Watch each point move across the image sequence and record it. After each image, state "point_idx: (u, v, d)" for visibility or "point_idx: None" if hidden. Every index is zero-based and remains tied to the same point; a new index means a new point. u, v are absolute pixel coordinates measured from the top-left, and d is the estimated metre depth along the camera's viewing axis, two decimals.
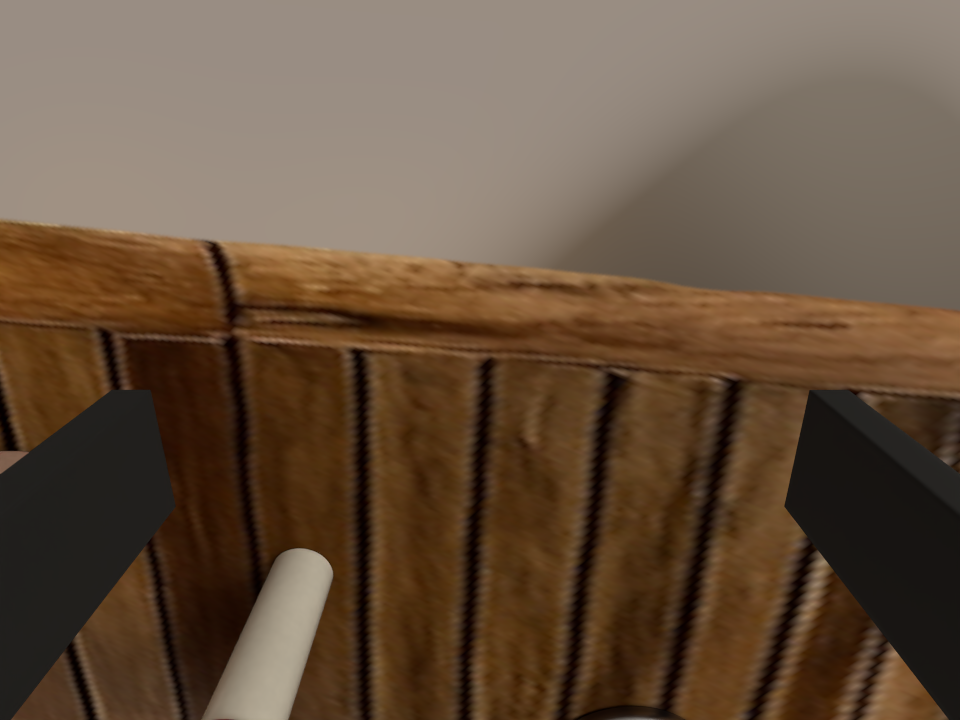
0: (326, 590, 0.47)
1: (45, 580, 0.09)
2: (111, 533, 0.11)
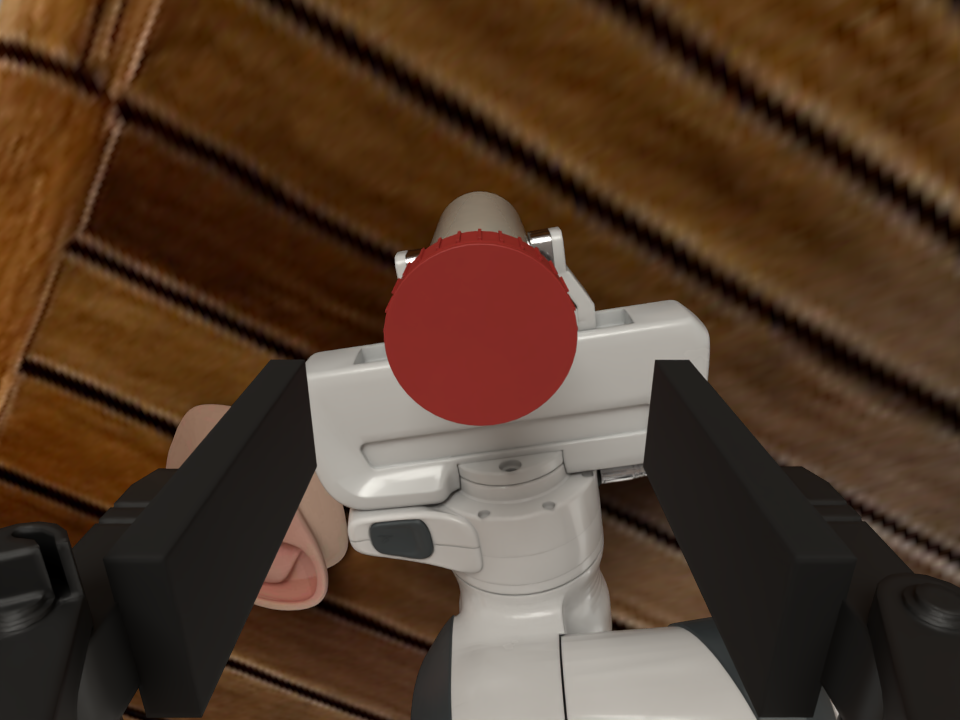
0: (498, 200, 0.32)
1: (257, 515, 0.11)
2: (286, 482, 0.12)
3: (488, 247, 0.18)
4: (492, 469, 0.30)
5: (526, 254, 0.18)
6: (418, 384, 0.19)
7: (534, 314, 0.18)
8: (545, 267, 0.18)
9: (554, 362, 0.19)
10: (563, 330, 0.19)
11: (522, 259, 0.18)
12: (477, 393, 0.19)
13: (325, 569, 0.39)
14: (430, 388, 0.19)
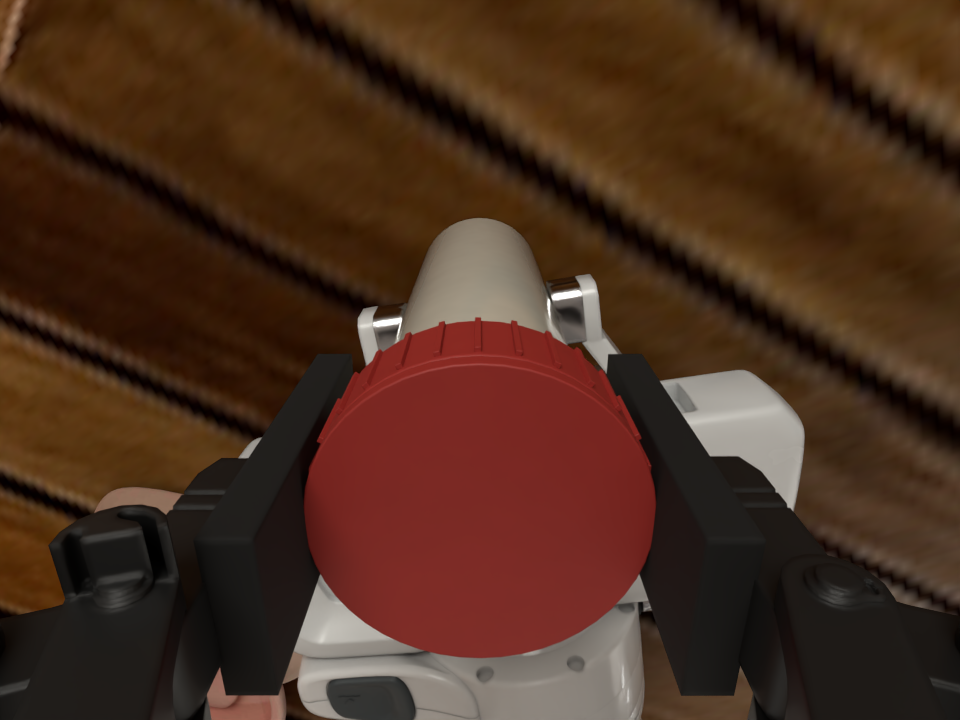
0: (504, 232, 0.23)
1: None
2: None
3: (494, 370, 0.09)
4: None
5: (566, 381, 0.09)
6: (369, 596, 0.11)
7: (579, 484, 0.10)
8: (602, 404, 0.09)
9: (612, 562, 0.10)
10: (631, 511, 0.10)
11: (559, 391, 0.09)
12: (474, 610, 0.11)
13: (282, 696, 0.30)
14: (390, 602, 0.11)
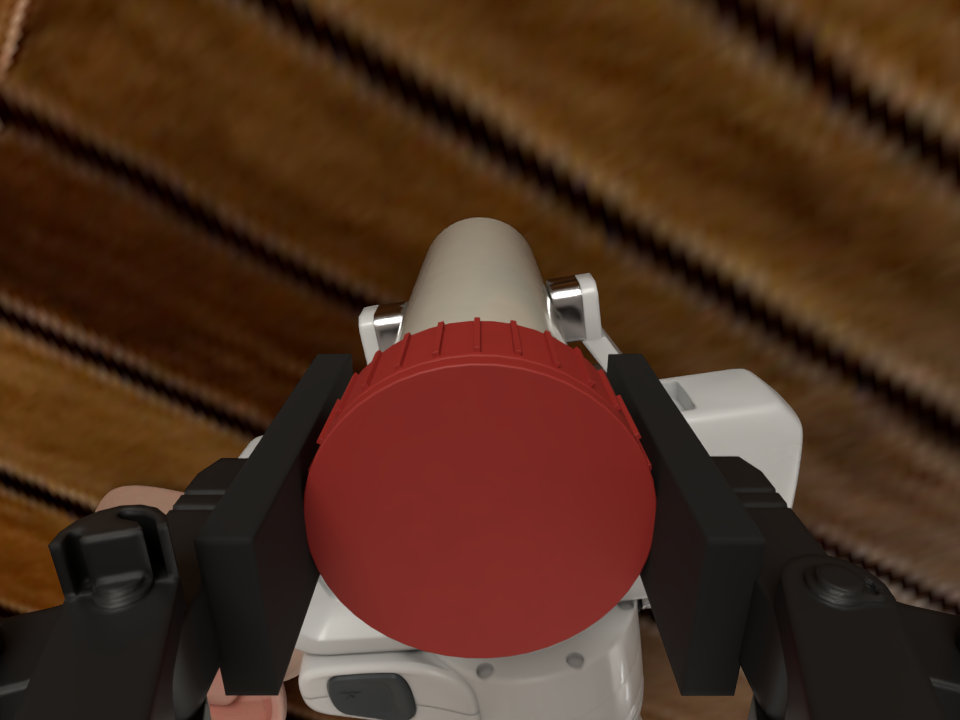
0: (504, 231, 0.23)
1: None
2: None
3: (327, 447, 0.10)
4: None
5: (369, 395, 0.09)
6: (502, 637, 0.11)
7: (481, 431, 0.10)
8: (406, 376, 0.09)
9: (588, 438, 0.10)
10: (537, 398, 0.09)
11: (372, 407, 0.09)
12: (568, 571, 0.11)
13: (283, 693, 0.30)
14: (518, 625, 0.11)
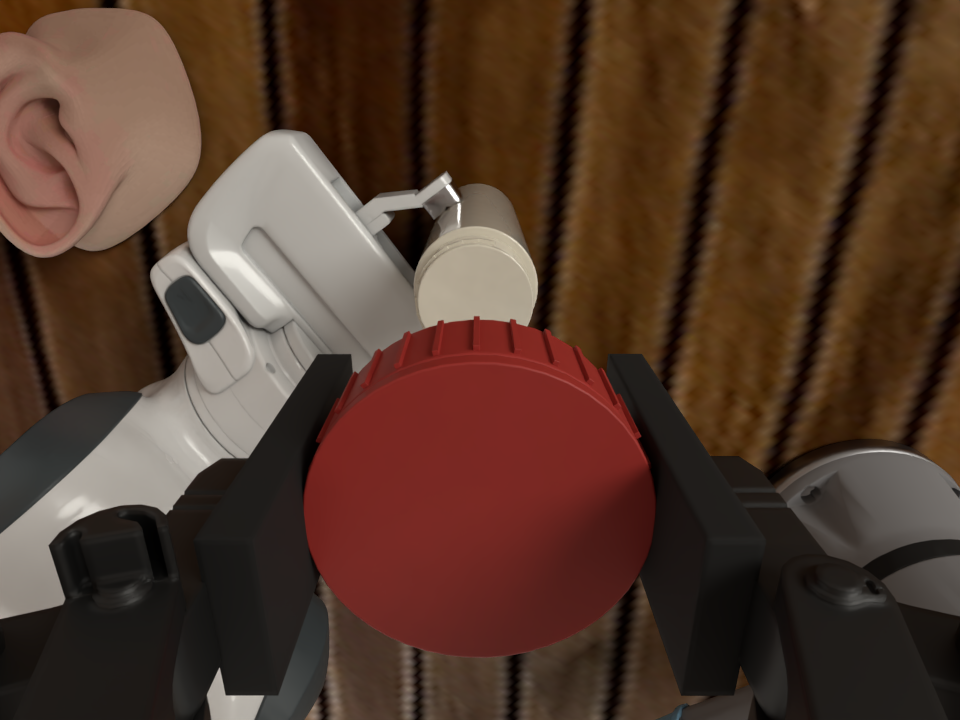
0: None
1: None
2: None
3: (327, 446, 0.10)
4: (311, 351, 0.31)
5: (368, 394, 0.09)
6: (501, 636, 0.11)
7: (480, 429, 0.10)
8: (406, 375, 0.09)
9: (588, 437, 0.10)
10: (537, 397, 0.09)
11: (372, 406, 0.09)
12: (568, 570, 0.11)
13: (74, 243, 0.34)
14: (518, 624, 0.11)
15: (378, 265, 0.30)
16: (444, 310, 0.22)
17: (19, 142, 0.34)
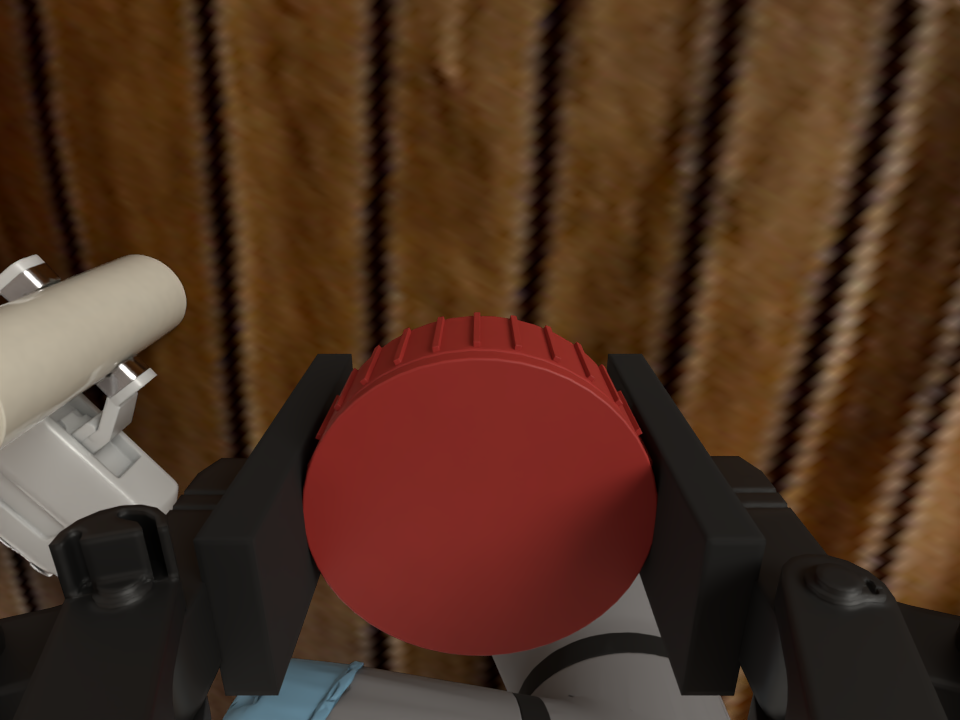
0: (167, 303, 0.33)
1: None
2: None
3: (326, 443, 0.10)
4: None
5: (368, 390, 0.09)
6: (501, 634, 0.11)
7: (481, 426, 0.10)
8: (406, 371, 0.09)
9: (589, 433, 0.10)
10: (537, 394, 0.09)
11: (371, 402, 0.09)
12: (569, 567, 0.10)
13: None
14: (518, 622, 0.11)
15: None
16: None
17: None
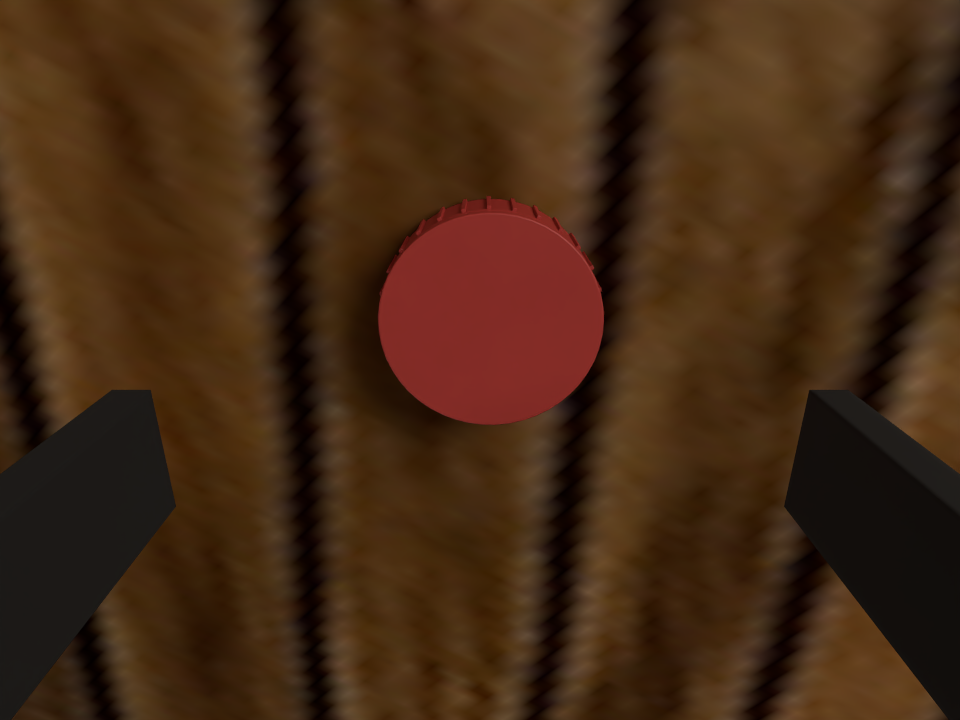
0: None
1: (46, 580, 0.09)
2: (111, 533, 0.11)
3: (395, 270, 0.15)
4: None
5: (422, 235, 0.15)
6: (504, 408, 0.17)
7: (491, 258, 0.15)
8: (445, 222, 0.15)
9: (558, 263, 0.15)
10: (526, 236, 0.15)
11: (424, 242, 0.15)
12: (547, 358, 0.16)
13: None
14: (515, 399, 0.17)
15: None
16: None
17: None
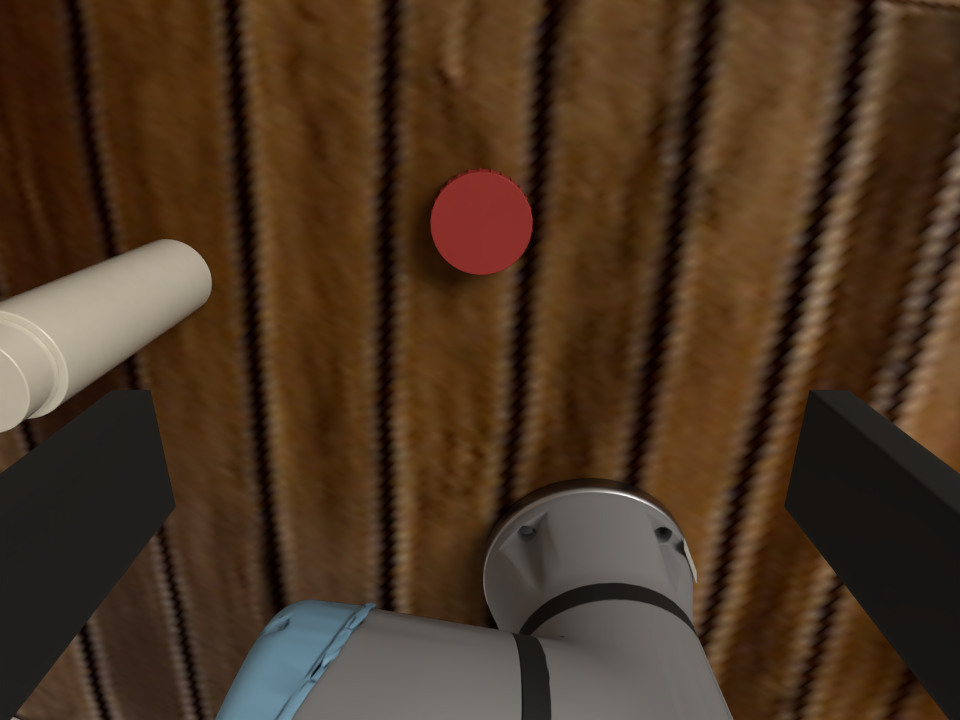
0: (196, 283, 0.37)
1: (45, 580, 0.09)
2: (111, 533, 0.11)
3: (439, 198, 0.35)
4: None
5: (451, 182, 0.35)
6: (488, 266, 0.36)
7: (481, 193, 0.35)
8: (461, 176, 0.35)
9: (511, 195, 0.35)
10: (496, 182, 0.35)
11: (452, 185, 0.35)
12: (507, 240, 0.36)
13: None
14: (493, 261, 0.36)
15: None
16: None
17: None
